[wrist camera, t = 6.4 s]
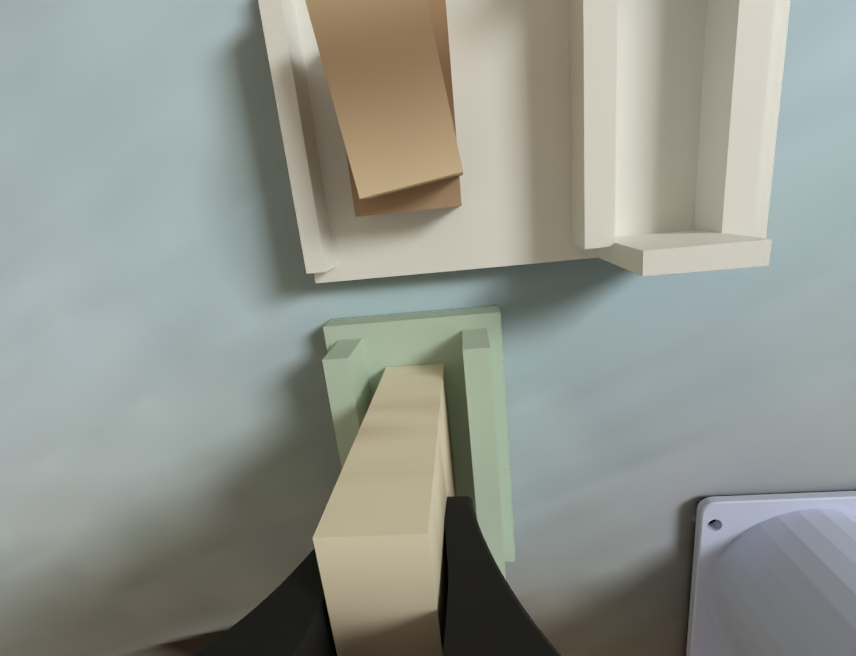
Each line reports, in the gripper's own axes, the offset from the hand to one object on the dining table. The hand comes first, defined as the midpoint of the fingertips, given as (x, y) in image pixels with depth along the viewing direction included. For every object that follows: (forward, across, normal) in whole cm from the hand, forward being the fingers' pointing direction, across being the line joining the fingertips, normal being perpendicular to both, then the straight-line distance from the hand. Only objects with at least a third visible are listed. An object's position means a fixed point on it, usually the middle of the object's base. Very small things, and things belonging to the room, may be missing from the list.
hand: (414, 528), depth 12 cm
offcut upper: (+2, 0, -11) cm, 12 cm away
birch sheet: (+4, 0, 0) cm, 4 cm away
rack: (+5, -4, -11) cm, 13 cm away
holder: (+5, 0, 0) cm, 5 cm away
